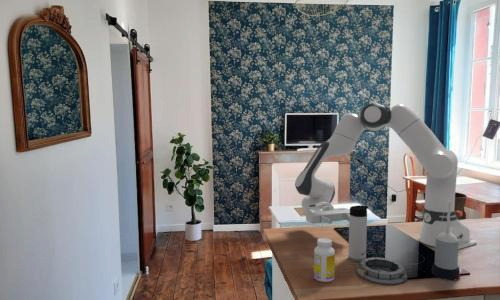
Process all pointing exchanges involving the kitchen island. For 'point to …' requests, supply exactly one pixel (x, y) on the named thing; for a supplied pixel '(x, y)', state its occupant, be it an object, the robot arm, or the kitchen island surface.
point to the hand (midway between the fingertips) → (340, 220)
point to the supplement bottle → (324, 260)
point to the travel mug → (357, 233)
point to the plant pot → (459, 203)
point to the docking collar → (382, 271)
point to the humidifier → (446, 253)
